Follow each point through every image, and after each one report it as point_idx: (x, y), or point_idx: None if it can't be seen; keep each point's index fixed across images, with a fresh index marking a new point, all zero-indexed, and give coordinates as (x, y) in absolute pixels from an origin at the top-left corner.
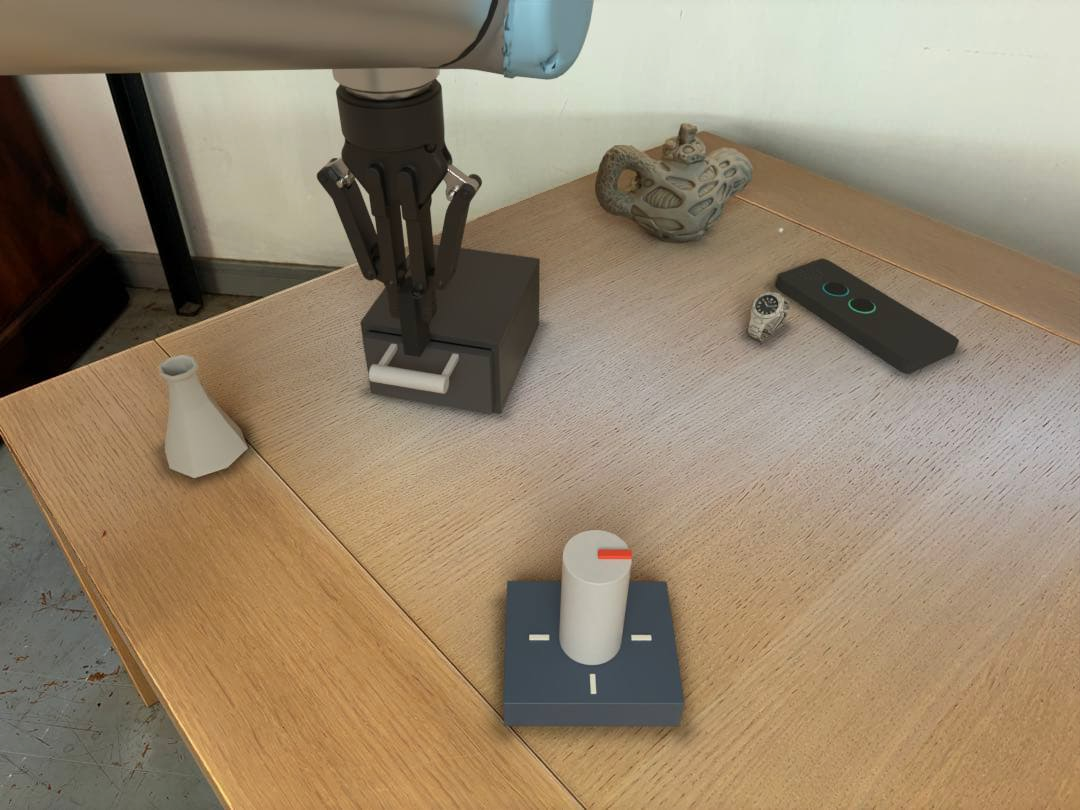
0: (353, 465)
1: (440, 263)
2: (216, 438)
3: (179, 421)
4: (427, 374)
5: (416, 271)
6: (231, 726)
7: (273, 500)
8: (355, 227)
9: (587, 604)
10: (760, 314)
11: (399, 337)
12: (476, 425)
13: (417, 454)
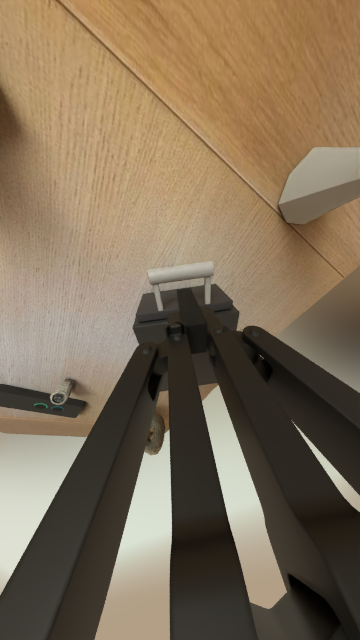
0: (202, 219)
1: (135, 383)
2: (314, 173)
3: None
4: (164, 277)
5: (181, 356)
6: None
7: (245, 150)
8: (356, 419)
9: None
10: (60, 392)
11: None
12: (149, 285)
13: (168, 247)
